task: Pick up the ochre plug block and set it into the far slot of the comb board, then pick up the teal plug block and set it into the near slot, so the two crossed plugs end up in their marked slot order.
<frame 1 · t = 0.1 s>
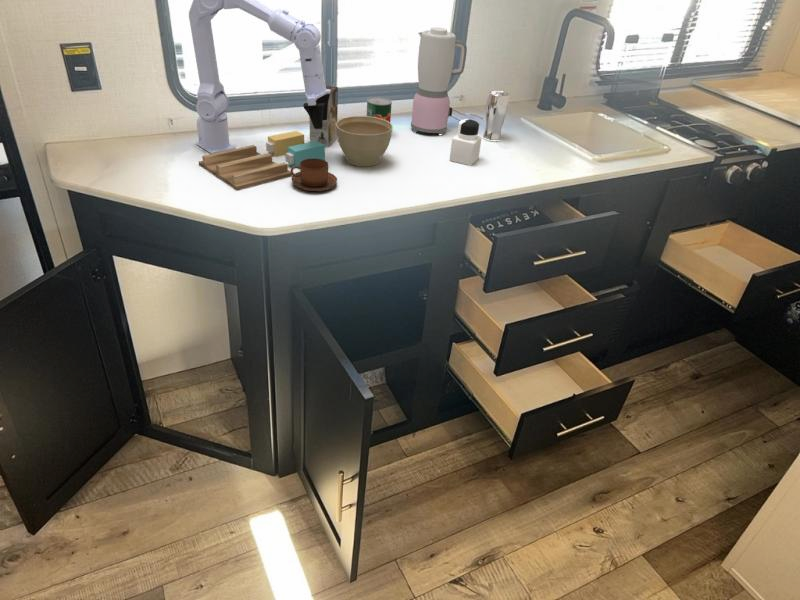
hand: (321, 124, 170), 10 cm above the countertop, tool pointing down, fingers open, 7 cm apart
medicine bottle: (463, 160, 184), on the countertop
blender: (433, 131, 205), on the countertop
comb board: (245, 170, 165), on the countertop
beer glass: (491, 139, 203), on the countertop
ochre plug block: (286, 151, 179), on the countertop
canned tomato: (377, 135, 197), on the countertop
planter bowl: (362, 161, 177), on the countertop
cup and saucer: (314, 186, 161), on the countertop
coffee box: (323, 142, 188), on the countertop
teal plug block: (306, 162, 173), on the countertop
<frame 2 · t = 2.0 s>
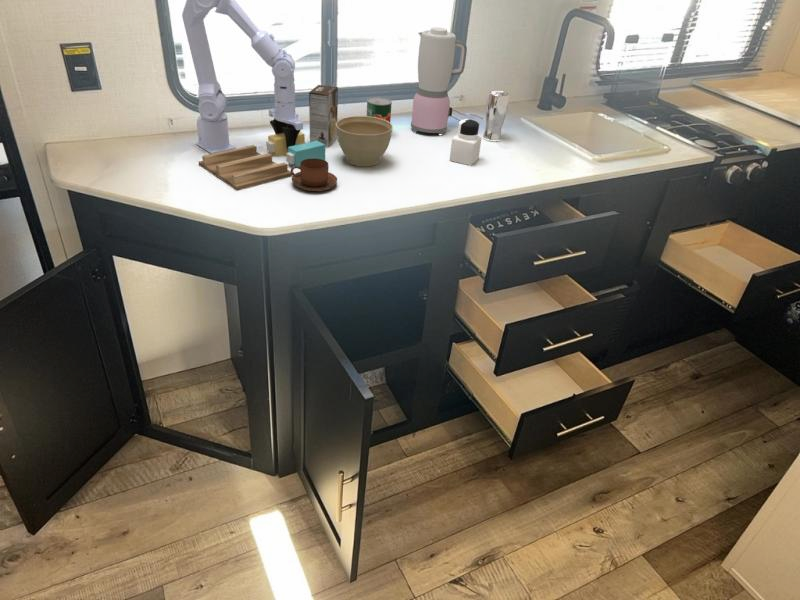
hand: (286, 146, 178), 1 cm above the countertop, tool pointing down, fingers closed on ochre plug block, 4 cm apart
ochre plug block: (287, 151, 179), on the countertop, touching gripper
everything else where it was.
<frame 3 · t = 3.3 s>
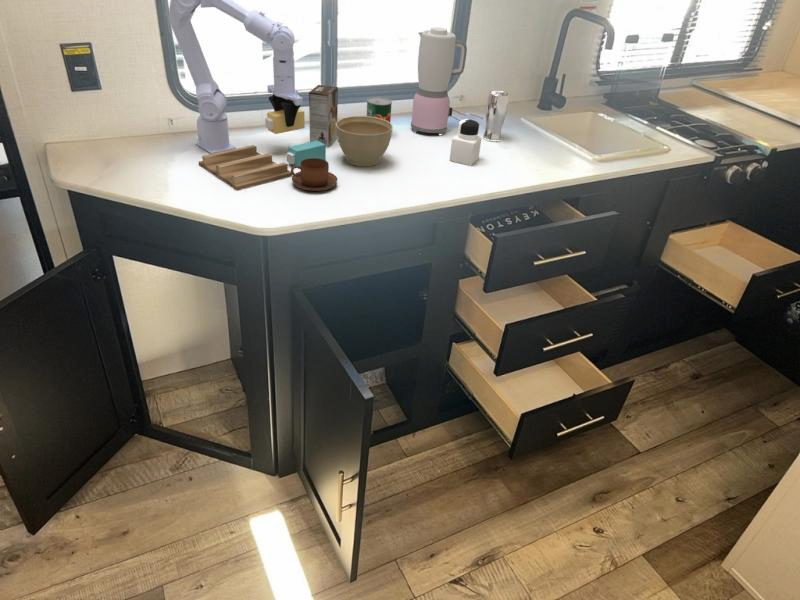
hand: (285, 123, 174), 8 cm above the countertop, tool pointing down, fingers closed on ochre plug block, 4 cm apart
ochre plug block: (286, 129, 175), point 7 cm above the countertop, touching gripper
everything else where it was.
when the fingers open (4 cm above the countertop, at t = 5.9 s): ochre plug block drops 1 cm, resting on comb board.
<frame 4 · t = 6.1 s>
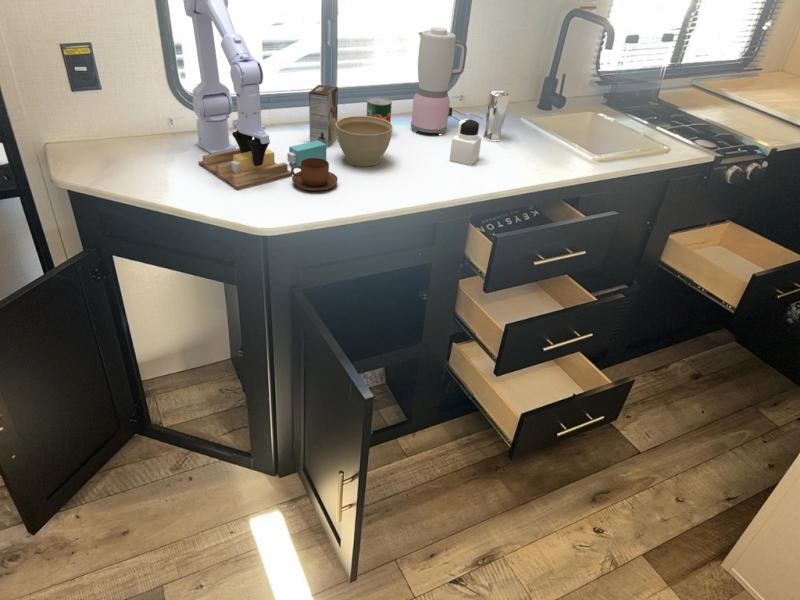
hand: (252, 161, 161), 4 cm above the countertop, tool pointing down, fingers open, 5 cm apart
ochre plug block: (255, 171, 163), point 1 cm above the countertop, touching comb board
everything else where it was.
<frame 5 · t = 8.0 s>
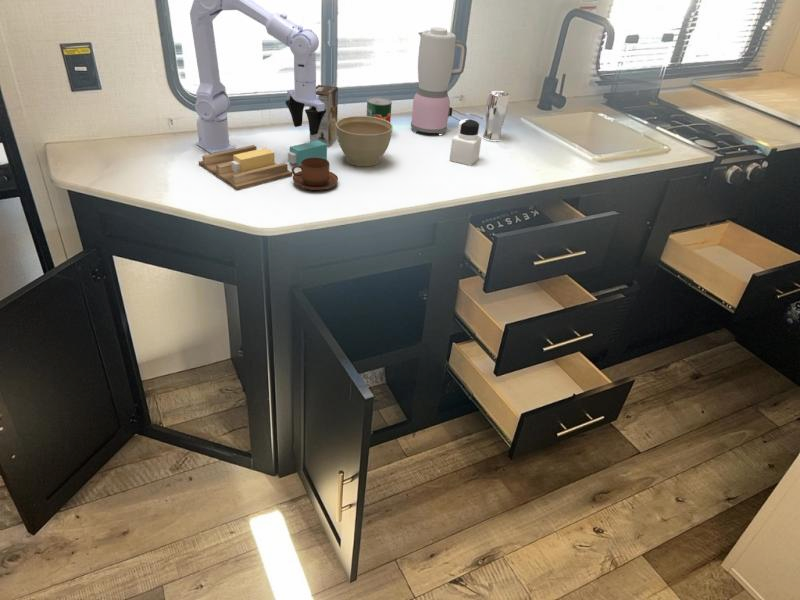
hand: (305, 130, 168), 9 cm above the countertop, tool pointing down, fingers open, 7 cm apart
nothing on the countertop moved.
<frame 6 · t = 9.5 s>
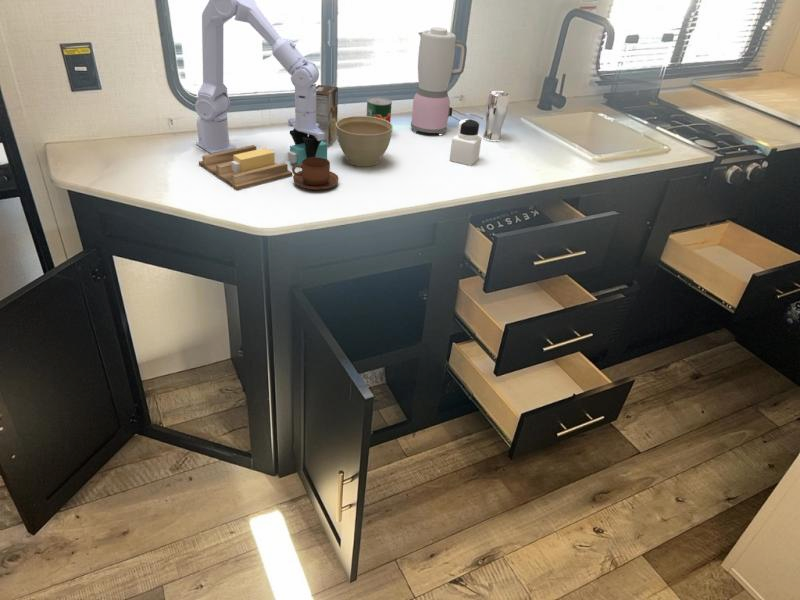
hand: (306, 157, 172), 1 cm above the countertop, tool pointing down, fingers closed on teal plug block, 4 cm apart
teal plug block: (309, 161, 174), on the countertop, touching gripper
everything else where it was.
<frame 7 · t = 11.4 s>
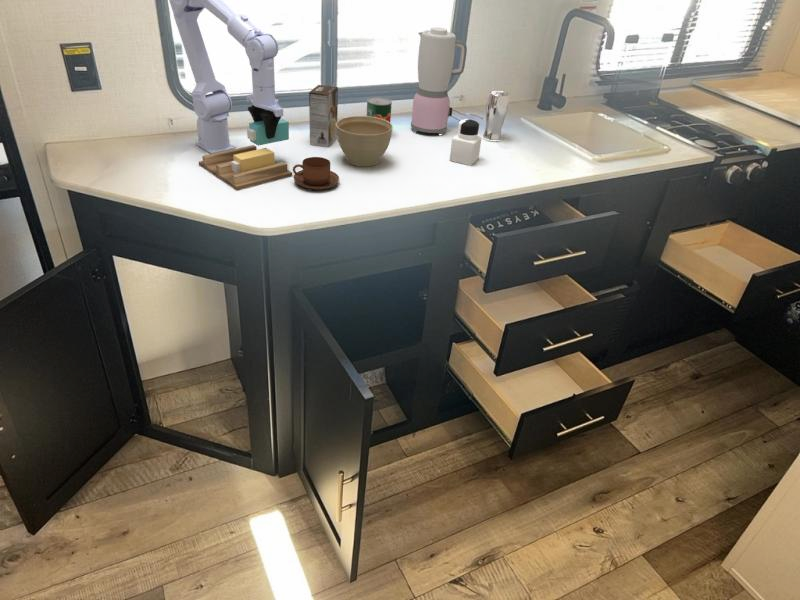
hand: (265, 135, 165), 8 cm above the countertop, tool pointing down, fingers closed on teal plug block, 4 cm apart
teal plug block: (269, 140, 167), point 7 cm above the countertop, touching gripper
when the fingers open (4 cm above the countertop, at t = 13.2 s): teal plug block drops 1 cm, resting on comb board.
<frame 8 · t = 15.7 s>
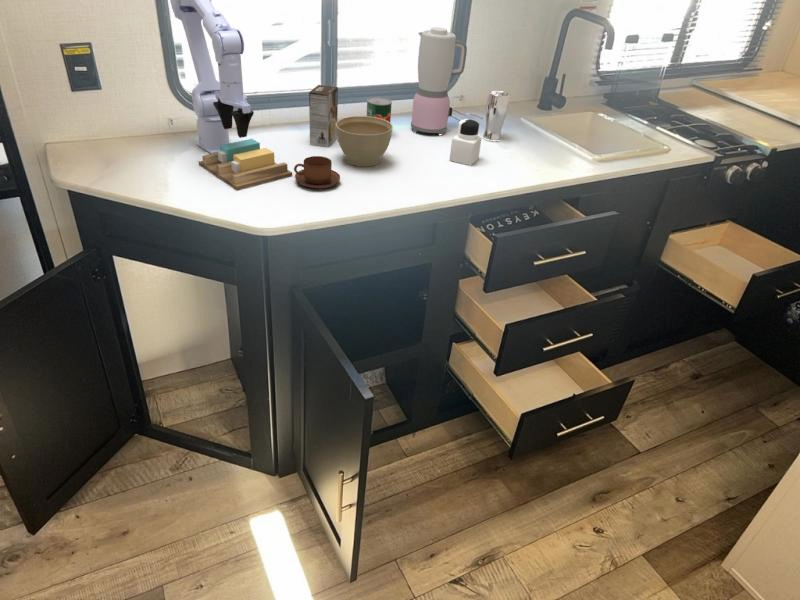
hand: (235, 132, 162), 9 cm above the countertop, tool pointing down, fingers open, 7 cm apart
teal plug block: (241, 161, 168), point 1 cm above the countertop, touching comb board
at the end: teal plug block 1.1 cm from the target spot on the comb board, point 1.0 cm above the comb board's base; ochre plug block 0.6 cm from the target spot on the comb board, point 1.0 cm above the comb board's base; the gripper is holding nothing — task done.
